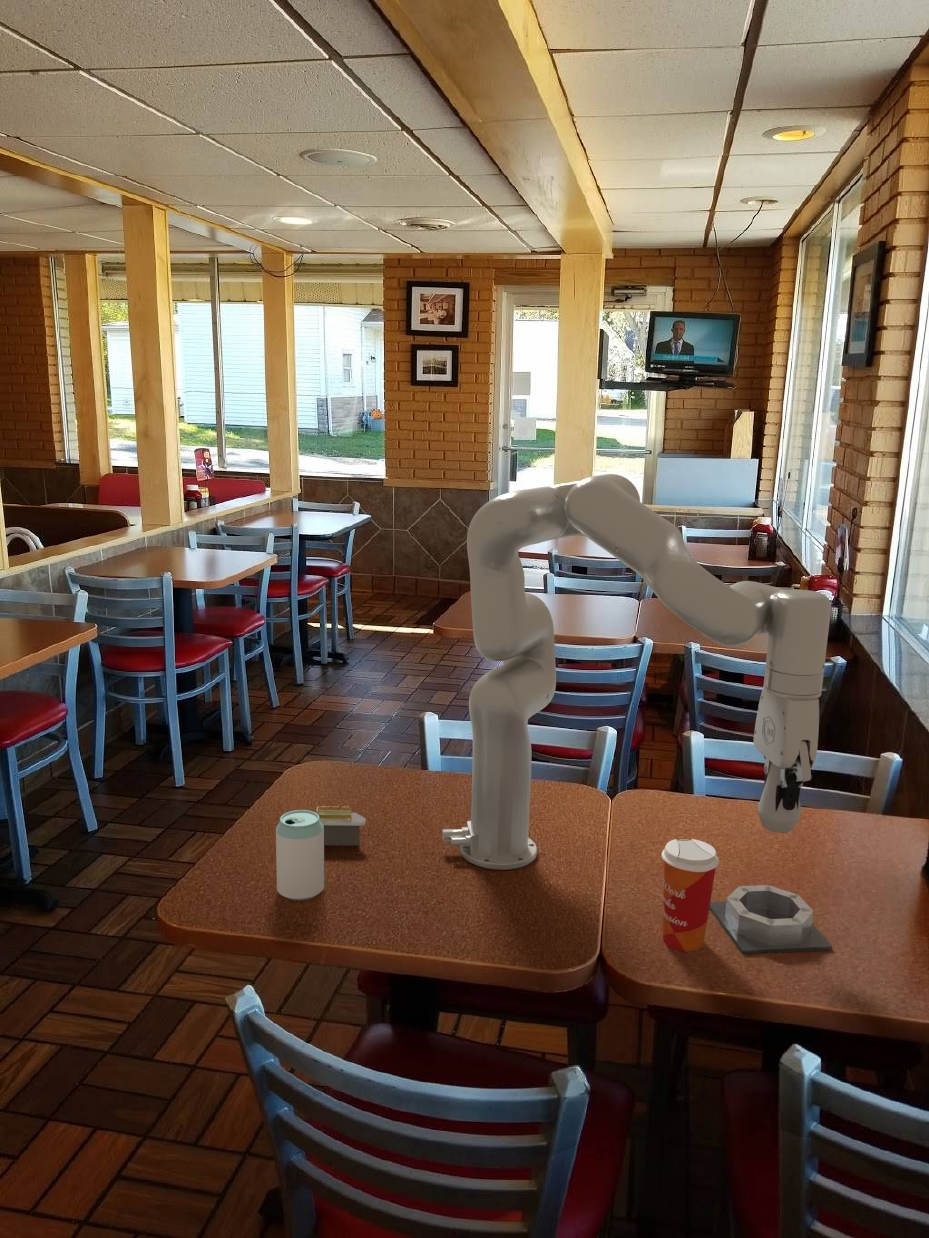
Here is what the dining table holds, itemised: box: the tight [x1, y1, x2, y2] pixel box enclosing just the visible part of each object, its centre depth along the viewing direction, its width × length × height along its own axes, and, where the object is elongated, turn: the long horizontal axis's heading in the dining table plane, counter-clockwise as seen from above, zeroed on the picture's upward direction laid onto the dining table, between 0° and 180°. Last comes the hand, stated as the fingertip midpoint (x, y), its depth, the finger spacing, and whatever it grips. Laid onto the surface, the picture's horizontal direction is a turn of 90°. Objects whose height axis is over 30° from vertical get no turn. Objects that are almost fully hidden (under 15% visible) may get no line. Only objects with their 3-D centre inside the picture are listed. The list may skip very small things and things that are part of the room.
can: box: [275, 809, 325, 901], centre depth 144 cm, size 7×7×12 cm
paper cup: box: [661, 838, 720, 953], centre depth 133 cm, size 8×8×14 cm
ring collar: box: [709, 884, 833, 956], centre depth 139 cm, size 13×13×4 cm
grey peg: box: [757, 762, 802, 834], centre depth 134 cm, size 6×6×13 cm
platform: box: [315, 805, 367, 847], centre depth 161 cm, size 12×18×7 cm, turn 92°
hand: (779, 805), depth 135 cm, fingers closed on grey peg, 3 cm apart
